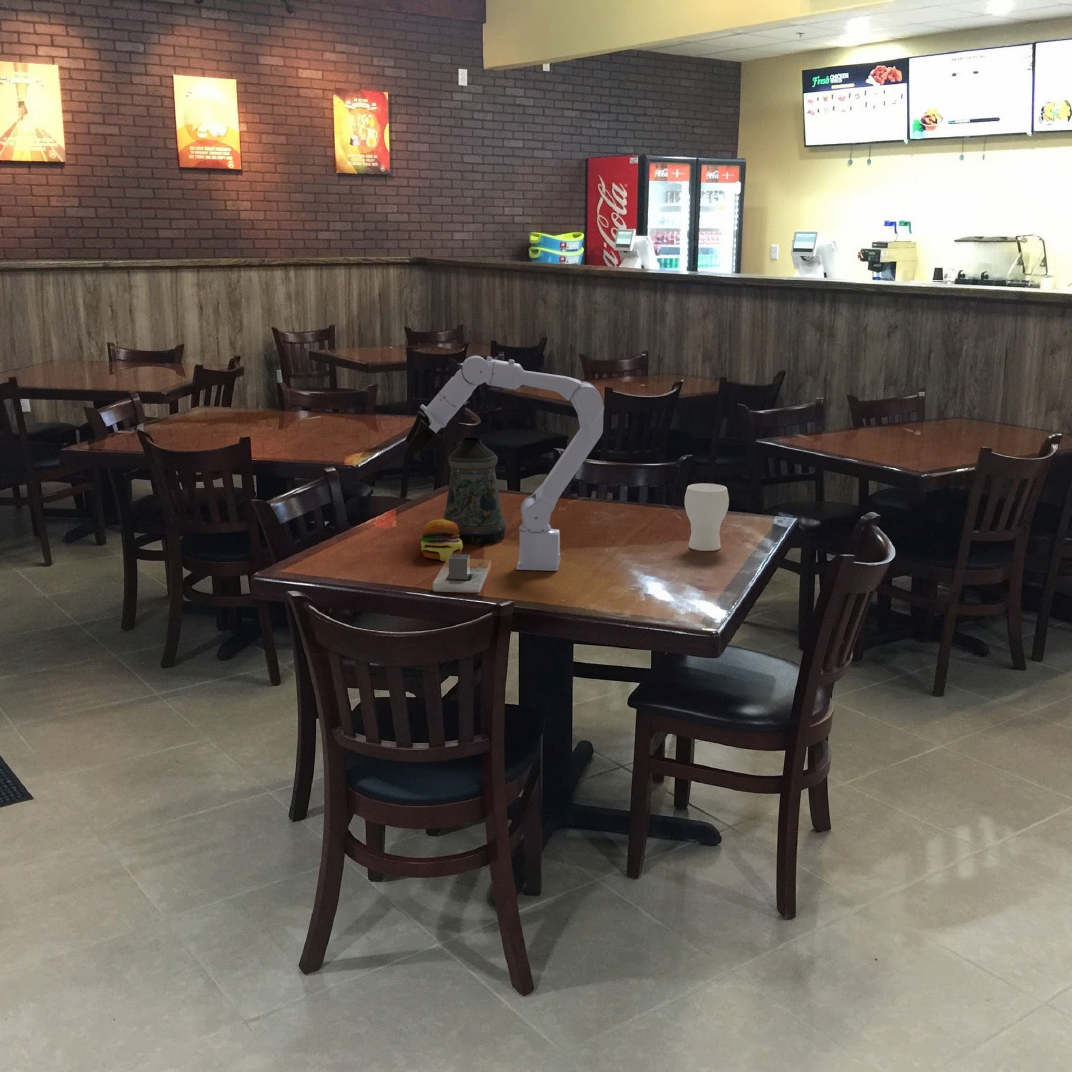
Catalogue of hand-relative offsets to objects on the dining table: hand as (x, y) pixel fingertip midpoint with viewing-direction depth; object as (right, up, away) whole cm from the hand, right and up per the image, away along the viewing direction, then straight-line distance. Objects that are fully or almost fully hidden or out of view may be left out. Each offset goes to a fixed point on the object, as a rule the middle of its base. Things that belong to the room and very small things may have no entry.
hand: (409, 447), depth 252 cm
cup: (+70, -23, +25) cm, 78 cm away
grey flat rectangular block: (+12, -29, -1) cm, 32 cm away
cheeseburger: (+6, -25, +17) cm, 31 cm away
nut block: (+12, -31, -6) cm, 33 cm away
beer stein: (+11, -20, +35) cm, 42 cm away
